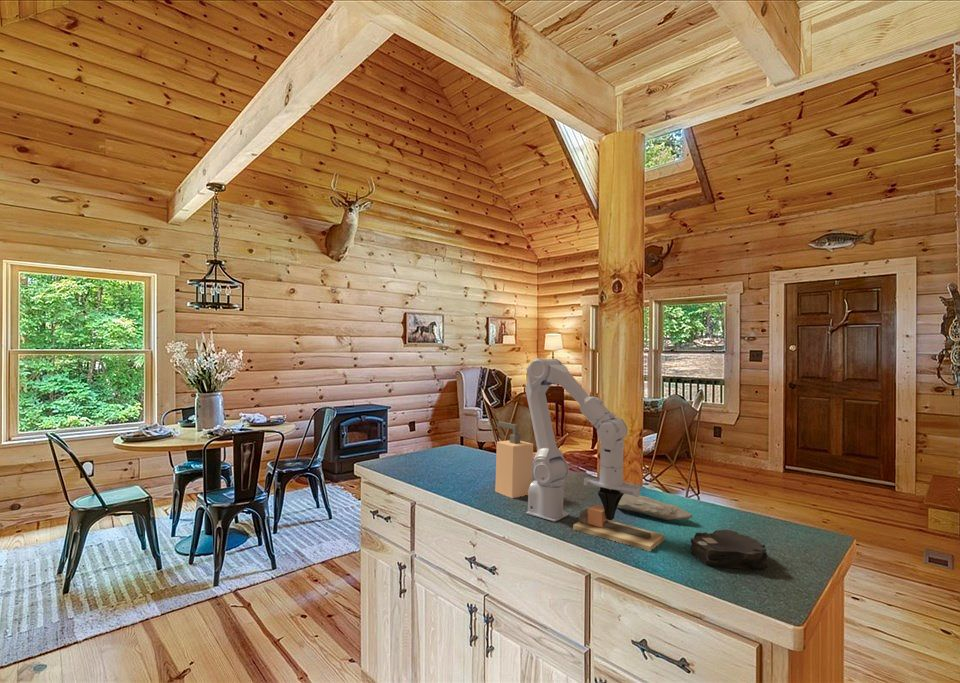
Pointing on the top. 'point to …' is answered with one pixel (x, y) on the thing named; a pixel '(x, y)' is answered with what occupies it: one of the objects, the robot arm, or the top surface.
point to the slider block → (596, 515)
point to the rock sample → (729, 550)
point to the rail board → (620, 533)
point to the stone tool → (652, 507)
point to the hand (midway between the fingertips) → (610, 518)
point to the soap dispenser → (513, 464)
